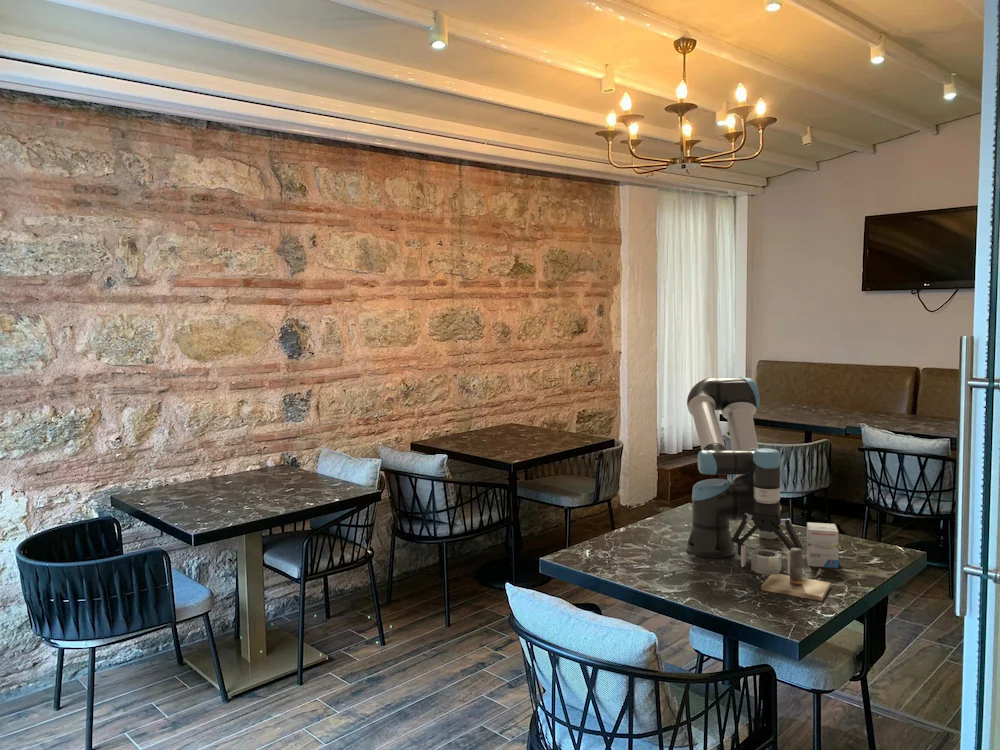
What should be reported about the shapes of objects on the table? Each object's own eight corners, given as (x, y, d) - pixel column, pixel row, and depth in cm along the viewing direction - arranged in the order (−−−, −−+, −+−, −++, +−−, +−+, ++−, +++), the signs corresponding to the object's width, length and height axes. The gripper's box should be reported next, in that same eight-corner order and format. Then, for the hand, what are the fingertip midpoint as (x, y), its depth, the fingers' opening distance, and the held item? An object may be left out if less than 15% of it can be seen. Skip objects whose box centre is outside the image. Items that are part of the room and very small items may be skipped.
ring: (749, 571, 222) (749, 555, 222) (756, 563, 229) (756, 548, 229) (776, 576, 218) (776, 559, 217) (783, 568, 224) (783, 552, 224)
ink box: (835, 559, 231) (836, 523, 230) (838, 568, 223) (839, 531, 222) (806, 557, 234) (806, 521, 233) (807, 566, 226) (808, 529, 225)
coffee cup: (785, 540, 252) (785, 505, 251) (759, 540, 252) (760, 506, 251) (776, 532, 260) (776, 499, 259) (751, 533, 260) (751, 499, 259)
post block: (761, 589, 208) (761, 550, 207) (772, 576, 218) (772, 539, 217) (822, 601, 199) (822, 560, 198) (830, 586, 209) (831, 548, 208)
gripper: (721, 498, 226) (721, 566, 227) (808, 508, 212) (807, 580, 213) (728, 493, 232) (728, 559, 233) (813, 502, 218) (812, 572, 219)
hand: (766, 569), depth 223 cm, fingers open, 13 cm apart
